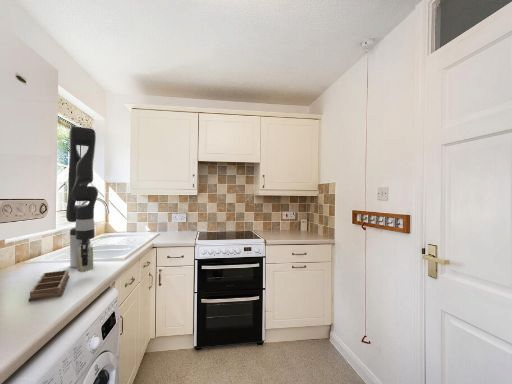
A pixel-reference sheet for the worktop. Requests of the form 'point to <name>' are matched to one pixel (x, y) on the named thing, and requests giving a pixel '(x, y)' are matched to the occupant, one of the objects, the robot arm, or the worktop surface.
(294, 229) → the worktop surface
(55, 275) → the tray
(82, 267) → the box
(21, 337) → the worktop surface
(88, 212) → the robot arm
